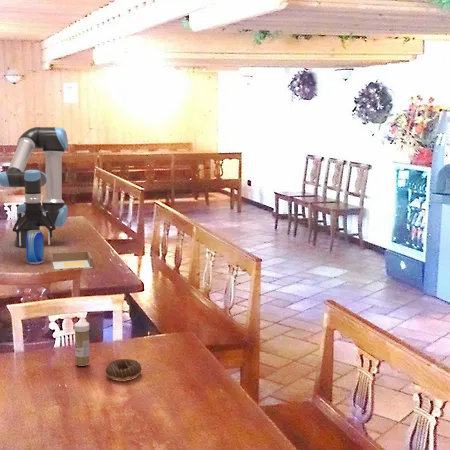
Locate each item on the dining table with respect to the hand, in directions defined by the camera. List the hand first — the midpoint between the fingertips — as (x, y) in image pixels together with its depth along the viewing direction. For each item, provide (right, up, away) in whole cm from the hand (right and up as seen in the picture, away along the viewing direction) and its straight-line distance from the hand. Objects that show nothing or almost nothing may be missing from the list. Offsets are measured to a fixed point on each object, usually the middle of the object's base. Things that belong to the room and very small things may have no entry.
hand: (34, 244), depth 318 cm
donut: (+63, -36, -124) cm, 144 cm away
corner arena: (+19, -10, -2) cm, 21 cm away
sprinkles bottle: (+49, -34, -117) cm, 131 cm away
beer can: (0, -9, +2) cm, 9 cm away
